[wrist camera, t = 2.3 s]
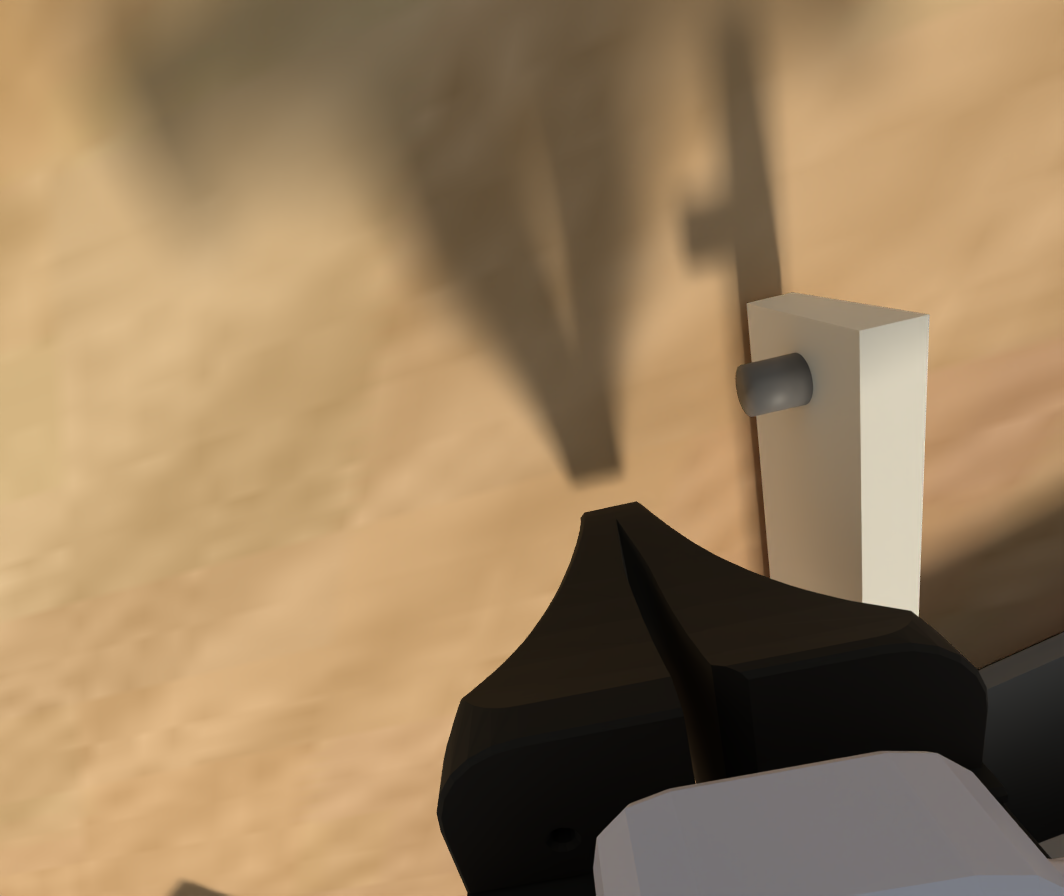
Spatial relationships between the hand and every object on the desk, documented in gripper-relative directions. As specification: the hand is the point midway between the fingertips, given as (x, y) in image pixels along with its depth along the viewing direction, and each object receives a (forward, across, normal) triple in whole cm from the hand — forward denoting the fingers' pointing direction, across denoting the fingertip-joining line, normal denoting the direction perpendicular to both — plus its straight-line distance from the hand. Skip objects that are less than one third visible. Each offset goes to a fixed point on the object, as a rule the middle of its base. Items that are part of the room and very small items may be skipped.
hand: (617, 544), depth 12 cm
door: (+1, -4, +3) cm, 5 cm away
